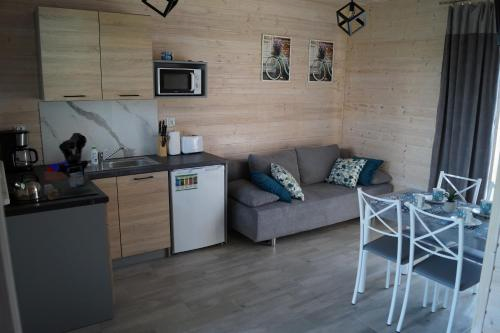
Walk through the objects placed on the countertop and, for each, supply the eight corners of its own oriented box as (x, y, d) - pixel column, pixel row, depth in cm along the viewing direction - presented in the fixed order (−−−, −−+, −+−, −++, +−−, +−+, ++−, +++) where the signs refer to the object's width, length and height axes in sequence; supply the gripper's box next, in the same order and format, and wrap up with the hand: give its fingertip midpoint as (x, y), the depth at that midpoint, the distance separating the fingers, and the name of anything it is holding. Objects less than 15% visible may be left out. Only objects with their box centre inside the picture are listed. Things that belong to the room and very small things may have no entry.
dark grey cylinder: (53, 194, 271) (52, 185, 270) (55, 196, 267) (54, 187, 266) (45, 195, 268) (44, 187, 266) (47, 197, 264) (46, 188, 263)
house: (74, 175, 329) (73, 161, 326) (58, 181, 310) (56, 165, 307) (61, 174, 331) (60, 160, 329) (44, 180, 312) (42, 165, 310)
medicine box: (74, 187, 267) (73, 174, 265) (69, 186, 269) (68, 173, 267) (84, 184, 274) (82, 172, 272) (79, 184, 276) (77, 171, 274)
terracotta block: (51, 192, 275) (50, 184, 274) (53, 194, 272) (52, 185, 271) (45, 193, 273) (44, 185, 271) (46, 195, 270) (46, 186, 268)
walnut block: (56, 196, 266) (55, 189, 265) (58, 198, 262) (58, 190, 261) (48, 198, 262) (47, 190, 261) (50, 199, 259) (49, 192, 258)
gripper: (56, 151, 263) (63, 171, 258) (86, 148, 275) (93, 167, 270) (54, 161, 271) (60, 181, 265) (82, 158, 283) (89, 176, 277)
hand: (76, 176), depth 269 cm, fingers closed on medicine box, 9 cm apart
